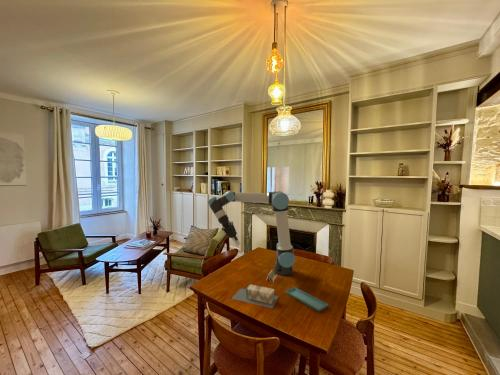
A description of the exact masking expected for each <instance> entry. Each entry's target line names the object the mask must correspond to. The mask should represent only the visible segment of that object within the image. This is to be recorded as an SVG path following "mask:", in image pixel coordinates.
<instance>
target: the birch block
mask: <svg viewBox="0 0 500 375" xmlns="http://www.w3.org/2000/svg"><path fill="white" fill-rule="evenodd" d="M245 289H246V298H248V299H252V300H257V301H261V302H265V303H270V304H271V303H272V301H273V299H274V295H275V289H274V288H271V287H266V286H260V285H255V284H248V286H247V287H246V288H245Z"/></svg>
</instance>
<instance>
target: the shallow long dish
mask: <svg viewBox="0 0 500 375" xmlns="http://www.w3.org/2000/svg"><path fill="white" fill-rule="evenodd" d="M285 293H286V294H287V295H288V296H291V297H292V298H293V299H295V300H297V301H299V302H300V303H303V304H304V305H306V306H308V307H309V308H311V309H313V310H314V311H316V312H321V311H323V310H324V309H327V307H328V306H329V303H327V302H325V301H323V300H321V299H320V298H317V297H315V296H313V295H312V294H309V293H307V292H306V291H303V290H302V289H299V288H298V287H295V286H293V287H291V288H289V289H286V290H285Z"/></svg>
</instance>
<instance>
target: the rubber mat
mask: <svg viewBox="0 0 500 375" xmlns="http://www.w3.org/2000/svg"><path fill="white" fill-rule="evenodd" d="M278 299H279V295H275V294H274V299H273V301H272V303H271V304H270V303H265V302H261V301H257V300H252V299H248V298H246V288H239V289H238V290H237V292H236V293H235V294H234V295H233V296H232V297H231V300H235V301H238V302H239V301H240V302H245V303H248V304H253V305H257V306H261V307H266V308H270V309H272V310H273V309H274V307H275V304H276V302H277V300H278Z"/></svg>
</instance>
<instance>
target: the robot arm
mask: <svg viewBox="0 0 500 375" xmlns="http://www.w3.org/2000/svg"><path fill="white" fill-rule="evenodd" d="M231 202H232V203H235V202H236V203H257V204H258V203H260V204H261V203H262V204H264V203H265V204H267V205H272V212H273V213H274V214H275V219H276V220H275V222H276V231H277V239H278V242H277V243H276V246H275V247H276V259H275V261H276V262H275V264H274V267H273V272H274V273H275V274H276V273H277V275H279V276H290V275H292V274H294V267H293V266H294V264H295V262H296V256H295V254H294V246H293V245H292V243H291V235H290V227H289V214H288V212H289V211H290V205H289V204H290V198H289V196H288V195H287V194H286V193H285V192H283V191H270V192H269V191H268V192H267V193H266V192H241V191H239V192H237V191H236V192H234V191H232V190H228V191H226V192H224V193H223V194H221V195H220V196H213V197H211V198H209V199H208V200H207V204H208V206H209V208H210V209H211V211H212V212H213V214H214V216H215V218H216V219H217V221H218V223H219V224H221V226H222V228H221V230H222V231H223V232H224V233H225V234H226V236H227V238H229V239H232V241H233V243H234V244H235V245H236V247H238V246H239V245H240V244H241V243H240V240H239V238H238V236H237V234H238V233H237V230H236V228H235V225H234V222H233V221H230V220H229V216H228V215H227V213H226V211H225V210H224V206H226V205H228V204H230V203H231Z"/></svg>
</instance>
